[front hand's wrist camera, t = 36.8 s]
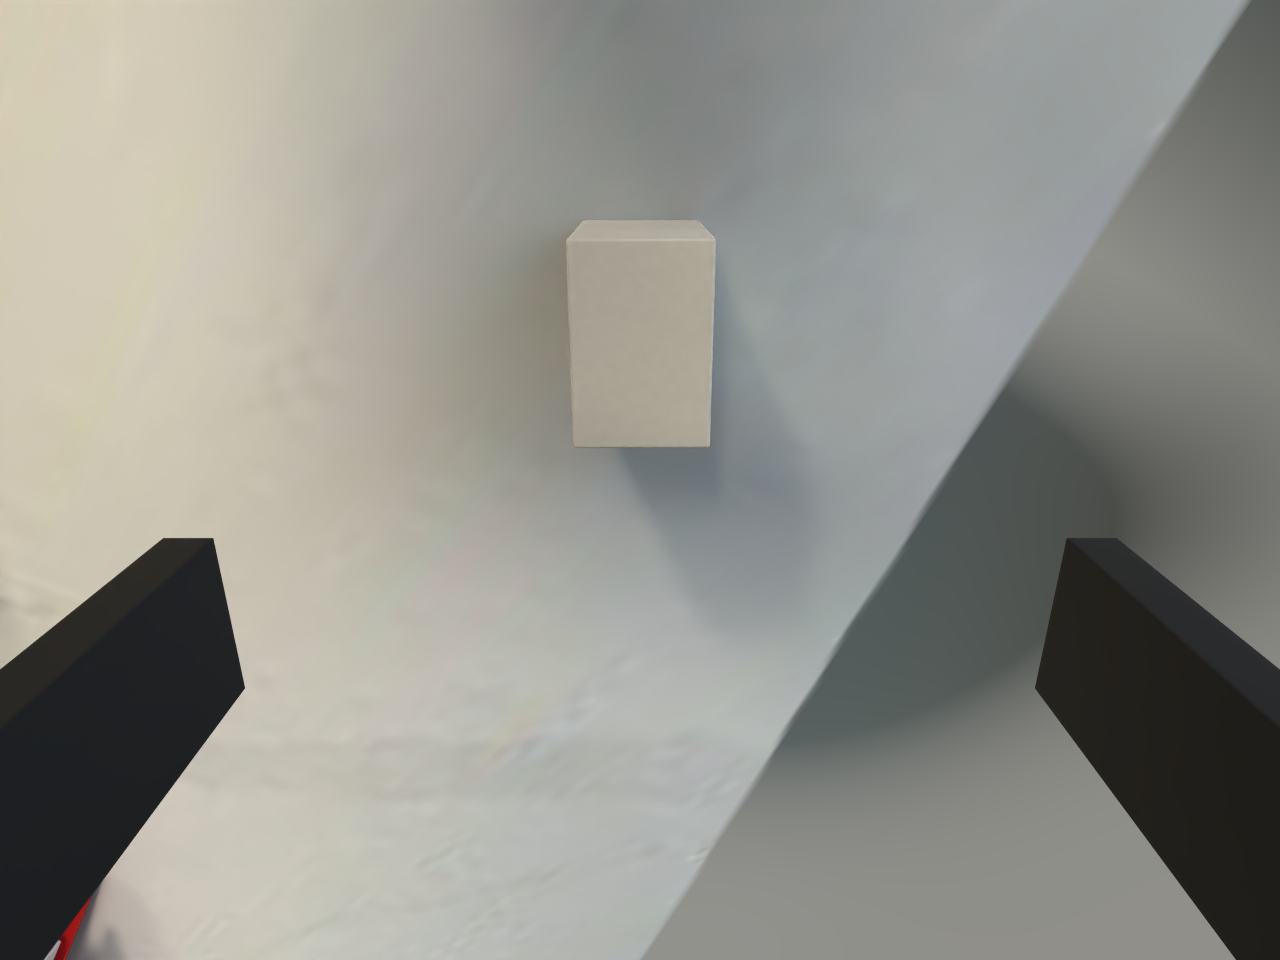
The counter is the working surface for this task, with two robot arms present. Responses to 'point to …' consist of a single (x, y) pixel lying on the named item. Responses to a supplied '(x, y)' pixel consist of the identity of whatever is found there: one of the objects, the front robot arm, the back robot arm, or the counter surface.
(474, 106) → the counter surface
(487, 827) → the counter surface
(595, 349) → the block
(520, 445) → the counter surface
